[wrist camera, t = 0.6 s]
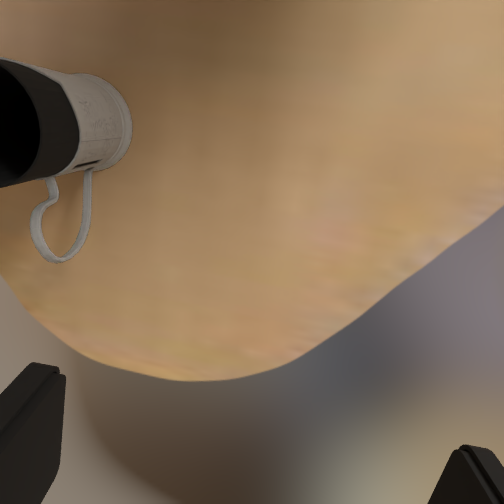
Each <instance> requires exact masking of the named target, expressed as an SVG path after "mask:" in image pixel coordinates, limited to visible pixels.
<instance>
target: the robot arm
mask: <svg viewBox="0 0 504 504" xmlns="http://www.w3.org/2000/svg"><path fill="white" fill-rule="evenodd" d="M65 386H66V376H65V375H63V374H60V370H59V368H58V367H56V366H51V365H46V364H40V363H35V362H32V363H30V364H29V365H28V366H27V367H26V368H25V369H24V370H23V371H22V372H21V373H20V374H19V375H18V376H17V377H16V378H15V379H14V381H12V383H11V384H10V385H9V386H8V387H7V388H6V389H5V390H4V391H3V392H2V393H1V394H0V504H41V502H42V500H43V499H44V497H45V495H46V493H47V492H48V490H49V488H50V486H51V484H52V483H53V481H54V479H55V477H56V475H57V472H58V469H59V465H60V456H61V455H60V454H61V442H62V428H63V414H64V400H65ZM428 504H504V467H503V466H502V464H501V463H500V461H499V460H498V459H497V457H496V456H495V454H494V453H493V452H492V451H490V450H489V449H486V448H481V447H476V446H471V445H462V446H460V448H459V449H458V450H454V451H453V452H452V454H451V456H450V458H449V460H448V462H447V464H446V466H445V469H444V471H443V473H442V475H441V477H440V479H439V481H438V483H437V485H436V487H435V489H434V491H433V493H432V496H431V498H430V500H429V502H428Z"/></svg>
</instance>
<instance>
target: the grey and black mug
mask: <svg viewBox="0 0 504 504" xmlns="http://www.w3.org/2000/svg"><path fill="white" fill-rule="evenodd" d="M132 131H133V130H132V119H131V114H130V111H129V108H128V106H127V104H126V102H125V100H124V99H123V97H122V96H121V94H120V93H119V92H118V91H117V90H116V89H115V88H114V87H113V86H112V85H111V84H110V83H108V82H107V81H105V80H103V79H101V78H99V77H97V76H95V75H90V74H86V73H75V74H66V73H62V72H58V71H54V70H50V69H47V68H43V67H39V66H35V65H31V64H27V63H24V62H20V61H16V60H12V59H8V58H4V57H0V188H2V187H7V186H11V185H15V184H19V183H23V182H27V181H31V180H43V179H44V180H45V182H46V185H47V188H48V191H49V198H48V200H46V201H44V202H42V203H40V204H39V205H37V206H36V207H35V208H34V210H33V211H32V214H31V218H30V232H31V237H32V240H33V242H34V244H35V247H36V248H37V250H38V251H39V253H40V254H41V256H42V257H43V258H45V259H46V260H47V261H48V262H52V263H61V262H64V261H67V260H69V259H71V258H72V257H73V256H74V255H76V254H77V253H78V252H79V250H80V249H81V247H82V246H83V244H84V242H85V240H86V237H87V235H88V231H89V228H90V224H91V205H92V173H93V171H99V170H103V169H106V168H109V167H111V166H113V165H114V164H116V163H117V162H118V161H119V160H121V158H122V157H123V156H124V155H125V153H126V151H127V150H128V148H129V145H130V142H131V139H132ZM80 170H84V179H83V212H82V222H81V227H80V230H79V233H78V236H77V238H76V241H75V243H74V244H73V246H72V247H71V249H70V250H69V251H68V252H67V253H66V254H65V255H64V256H62V257H57V256H56V255H54V254H53V253H52V252H51V250H50V249H49V247H48V246H47V244H46V242H45V240H44V238H43V234H42V229H41V220H42V216H43V213H44V211H45V210H46V208H47V207H49V206H51V205H53V204H54V203H56V202H57V201H58V199H59V190H58V186H57V183H56V180H55V177H57V176H61V175H65V174H69V173H73V172H76V171H80Z"/></svg>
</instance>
